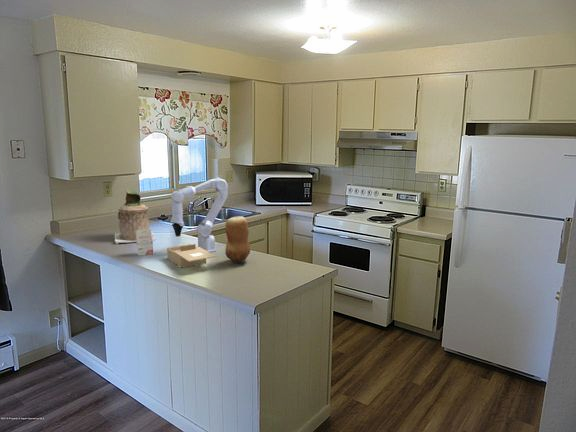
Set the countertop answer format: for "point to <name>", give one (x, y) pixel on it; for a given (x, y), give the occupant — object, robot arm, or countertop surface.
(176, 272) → the countertop surface
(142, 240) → the ink cartridge box
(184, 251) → the mailer lid
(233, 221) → the butternut squash
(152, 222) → the countertop surface
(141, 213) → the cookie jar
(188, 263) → the mailer box
